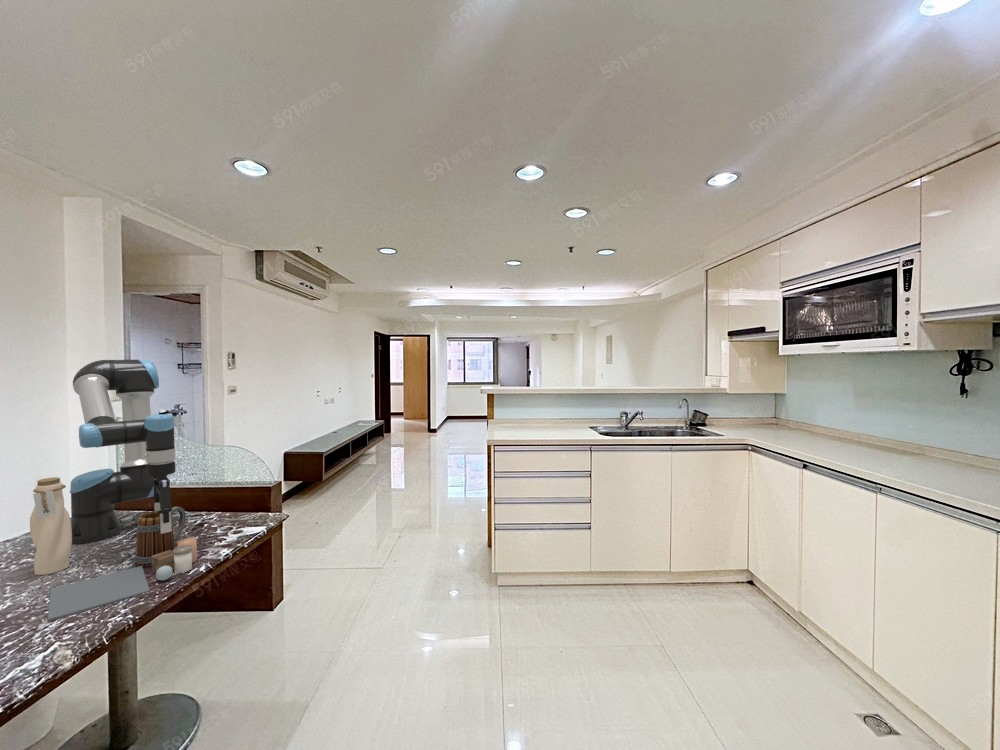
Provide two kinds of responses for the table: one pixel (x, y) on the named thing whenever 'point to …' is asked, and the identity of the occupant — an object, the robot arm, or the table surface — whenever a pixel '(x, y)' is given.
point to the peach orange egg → (193, 543)
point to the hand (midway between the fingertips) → (163, 526)
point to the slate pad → (96, 592)
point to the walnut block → (162, 560)
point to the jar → (182, 558)
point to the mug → (155, 536)
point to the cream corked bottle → (50, 527)
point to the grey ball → (164, 573)
